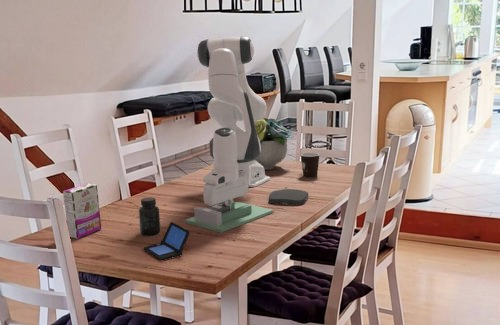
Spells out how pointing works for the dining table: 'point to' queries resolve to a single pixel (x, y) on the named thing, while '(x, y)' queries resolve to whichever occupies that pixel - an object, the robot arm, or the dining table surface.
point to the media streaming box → (288, 197)
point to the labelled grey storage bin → (220, 208)
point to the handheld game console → (170, 243)
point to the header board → (235, 222)
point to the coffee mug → (310, 164)
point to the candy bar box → (82, 210)
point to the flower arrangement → (271, 142)
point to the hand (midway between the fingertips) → (227, 211)
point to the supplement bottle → (149, 217)
